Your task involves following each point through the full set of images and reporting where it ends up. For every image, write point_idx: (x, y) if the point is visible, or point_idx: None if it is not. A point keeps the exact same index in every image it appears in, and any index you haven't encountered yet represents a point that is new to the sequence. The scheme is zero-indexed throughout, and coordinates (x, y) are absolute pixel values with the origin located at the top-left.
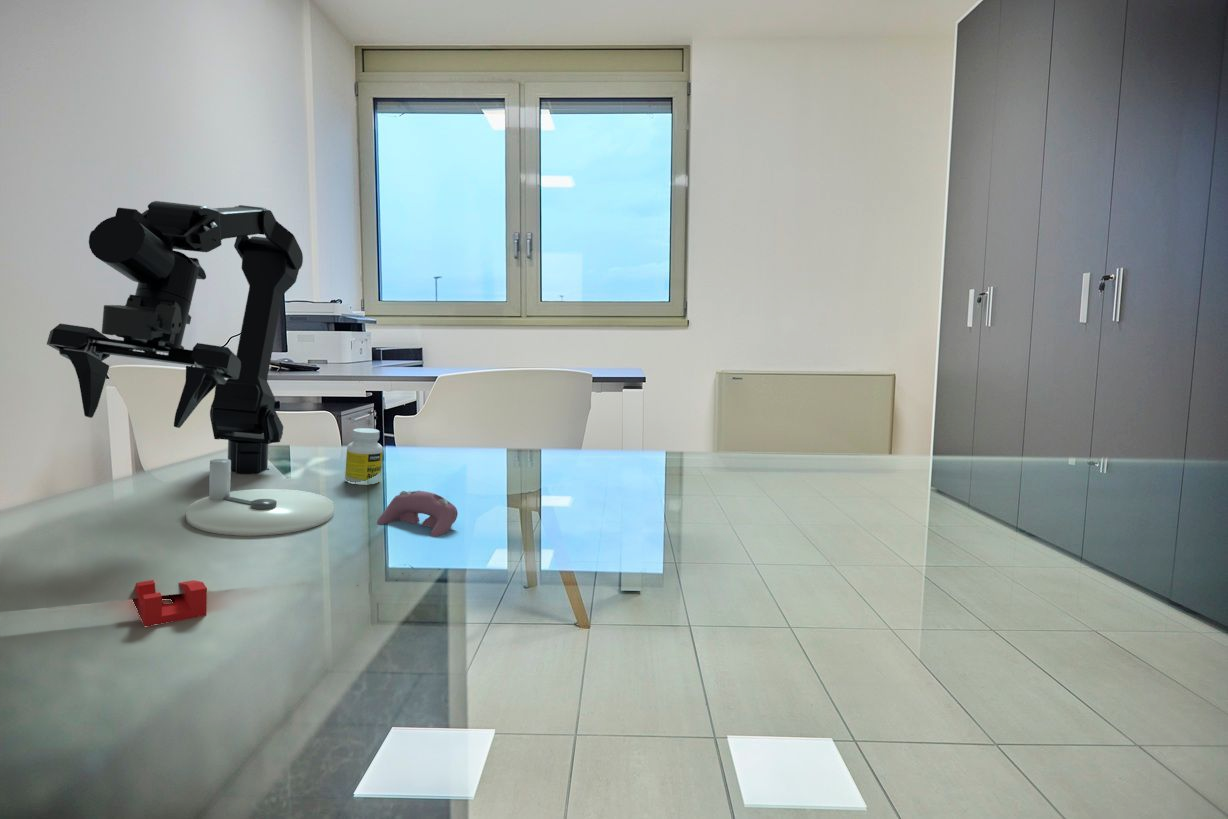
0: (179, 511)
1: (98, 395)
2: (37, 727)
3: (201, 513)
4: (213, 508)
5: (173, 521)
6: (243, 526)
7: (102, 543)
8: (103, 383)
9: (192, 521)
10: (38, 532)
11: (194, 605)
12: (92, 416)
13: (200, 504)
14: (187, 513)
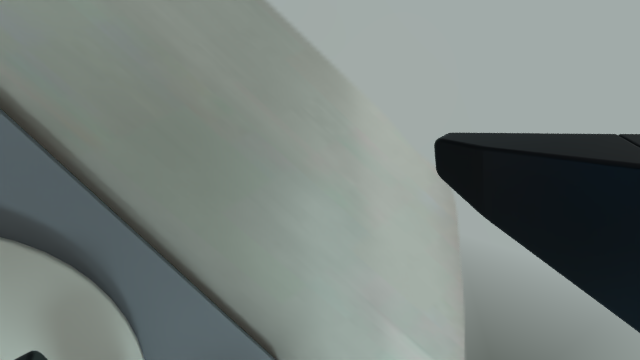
0: None
1: (541, 239)
2: None
3: (20, 290)
4: (32, 345)
5: None
6: None
7: (177, 112)
8: (629, 316)
9: (4, 241)
10: (328, 112)
11: None
12: (441, 175)
13: (102, 346)
14: (59, 267)
